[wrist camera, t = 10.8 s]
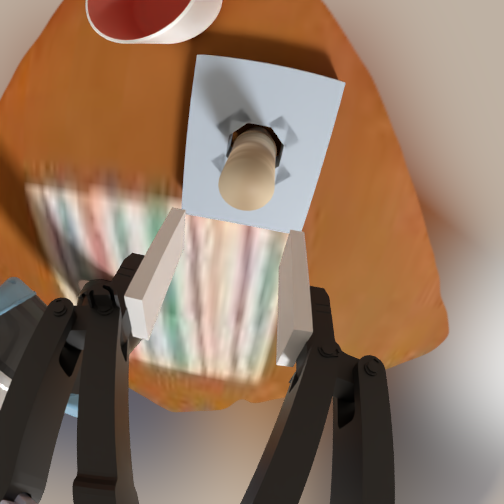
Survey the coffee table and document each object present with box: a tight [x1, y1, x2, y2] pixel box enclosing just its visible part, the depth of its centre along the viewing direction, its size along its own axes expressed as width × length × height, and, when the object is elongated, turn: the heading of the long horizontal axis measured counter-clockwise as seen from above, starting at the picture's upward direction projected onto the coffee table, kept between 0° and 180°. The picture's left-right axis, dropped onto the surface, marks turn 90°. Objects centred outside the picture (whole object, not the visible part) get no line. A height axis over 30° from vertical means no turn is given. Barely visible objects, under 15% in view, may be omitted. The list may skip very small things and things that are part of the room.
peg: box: [218, 127, 277, 211], centre depth 26 cm, size 4×4×12 cm
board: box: [182, 55, 345, 233], centre depth 30 cm, size 14×18×4 cm
